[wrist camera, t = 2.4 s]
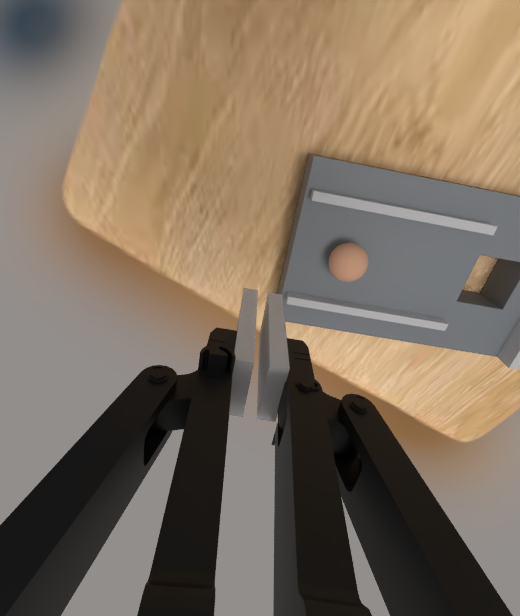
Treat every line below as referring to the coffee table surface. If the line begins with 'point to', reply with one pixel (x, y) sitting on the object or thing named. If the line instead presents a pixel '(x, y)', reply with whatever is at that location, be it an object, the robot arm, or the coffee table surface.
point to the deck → (405, 259)
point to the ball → (348, 262)
